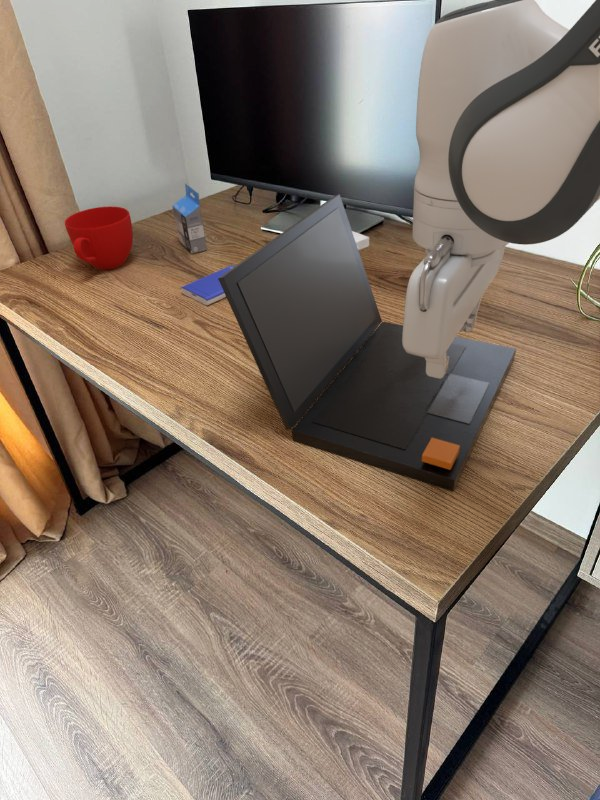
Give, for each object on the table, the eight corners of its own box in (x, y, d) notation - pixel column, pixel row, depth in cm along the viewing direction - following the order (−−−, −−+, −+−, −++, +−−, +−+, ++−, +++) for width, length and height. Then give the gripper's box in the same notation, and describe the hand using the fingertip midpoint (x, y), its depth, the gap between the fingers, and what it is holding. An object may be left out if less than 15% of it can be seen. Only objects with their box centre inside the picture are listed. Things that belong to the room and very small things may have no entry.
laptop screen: (340, 193, 86) (335, 195, 86) (223, 277, 65) (217, 278, 66) (382, 321, 95) (377, 322, 95) (291, 429, 74) (286, 429, 75)
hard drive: (231, 264, 117) (180, 286, 110) (258, 275, 112) (206, 298, 106) (232, 271, 118) (181, 293, 111) (258, 282, 113) (207, 306, 106)
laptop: (514, 358, 87) (516, 348, 86) (453, 491, 66) (454, 479, 65) (382, 331, 96) (382, 320, 95) (292, 440, 75) (291, 429, 74)
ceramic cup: (57, 284, 118) (41, 236, 112) (95, 250, 131) (82, 206, 125) (117, 285, 116) (103, 237, 110) (149, 251, 129) (139, 206, 123)
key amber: (459, 451, 68) (460, 445, 68) (450, 470, 66) (451, 463, 65) (431, 443, 70) (431, 437, 69) (421, 461, 67) (421, 454, 67)
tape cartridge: (178, 241, 132) (167, 186, 125) (194, 237, 134) (185, 182, 126) (191, 254, 126) (181, 197, 119) (208, 250, 127) (199, 193, 120)
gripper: (462, 269, 44) (450, 414, 52) (525, 186, 58) (507, 311, 66) (384, 258, 47) (384, 397, 55) (462, 182, 61) (452, 302, 69)
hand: (451, 350), depth 60 cm, fingers open, 8 cm apart
